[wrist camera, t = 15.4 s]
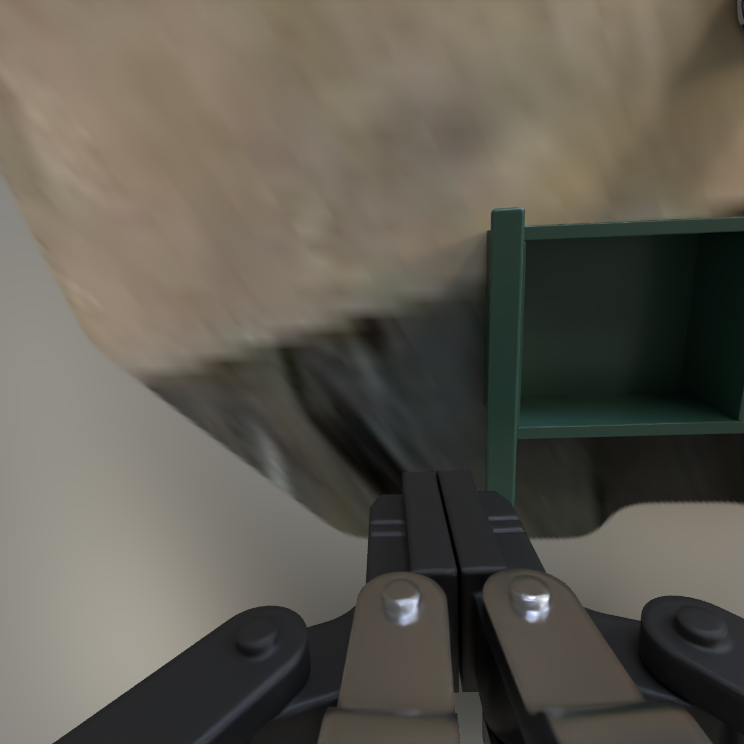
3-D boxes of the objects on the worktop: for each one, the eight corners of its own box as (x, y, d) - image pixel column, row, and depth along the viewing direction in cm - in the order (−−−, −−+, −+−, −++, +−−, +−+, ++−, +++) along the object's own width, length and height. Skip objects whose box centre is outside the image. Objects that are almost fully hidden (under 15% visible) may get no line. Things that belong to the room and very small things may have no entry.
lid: (524, 206, 12) (491, 208, 12) (509, 640, 15) (482, 635, 15) (522, 225, 26) (507, 226, 26) (514, 443, 29) (501, 442, 29)
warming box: (705, 220, 33) (786, 214, 26) (682, 398, 36) (749, 433, 29) (487, 230, 33) (512, 226, 26) (484, 404, 36) (505, 440, 30)
